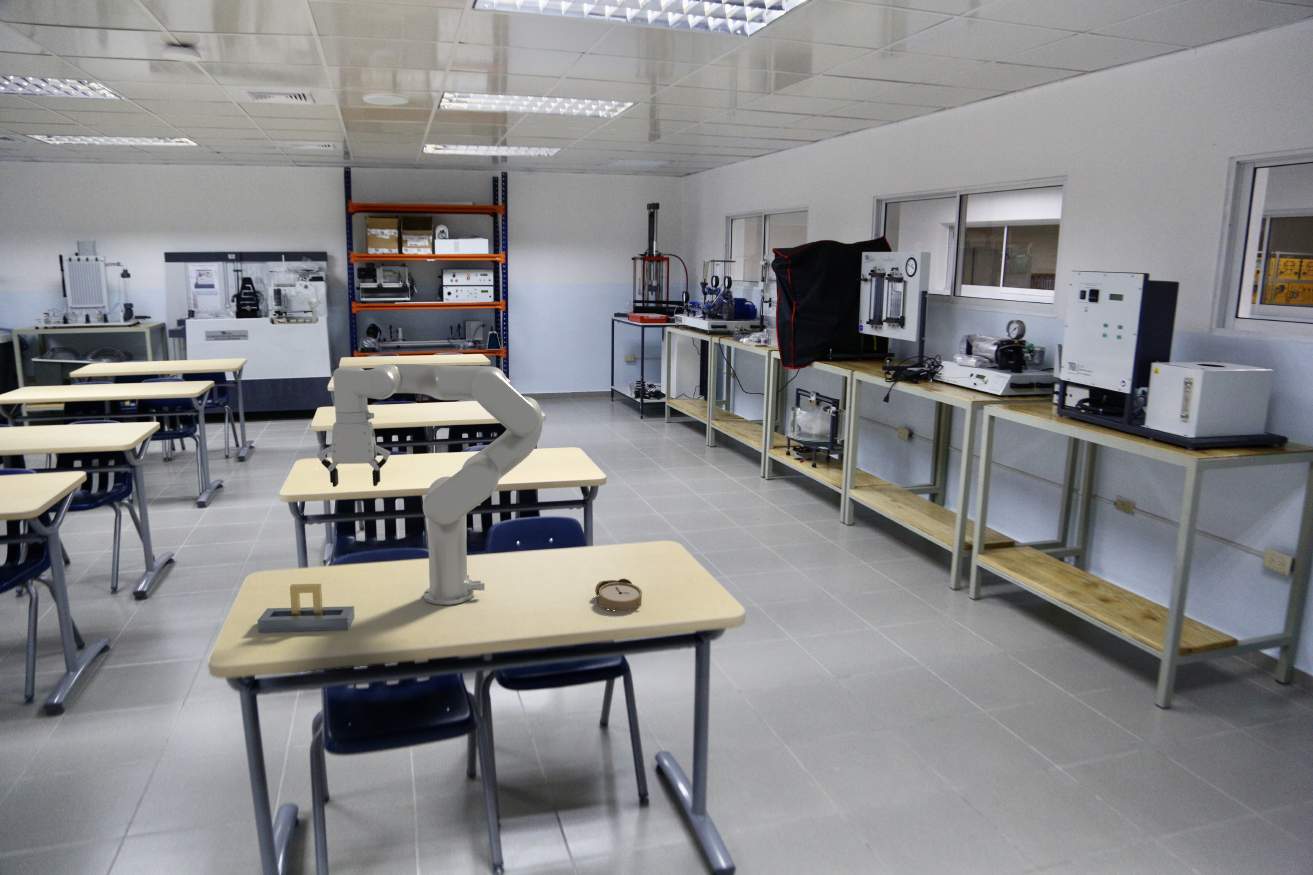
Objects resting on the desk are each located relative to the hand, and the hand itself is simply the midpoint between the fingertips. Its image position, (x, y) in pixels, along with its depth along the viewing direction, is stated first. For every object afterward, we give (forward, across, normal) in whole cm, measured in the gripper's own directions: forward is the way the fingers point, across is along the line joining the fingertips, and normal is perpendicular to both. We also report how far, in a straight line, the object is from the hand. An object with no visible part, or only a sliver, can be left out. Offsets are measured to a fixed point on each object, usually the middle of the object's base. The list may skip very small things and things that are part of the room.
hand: (355, 485), depth 211 cm
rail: (+30, +9, +16) cm, 35 cm away
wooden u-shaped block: (+29, +9, +16) cm, 34 cm away
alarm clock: (+31, -65, +6) cm, 73 cm away
